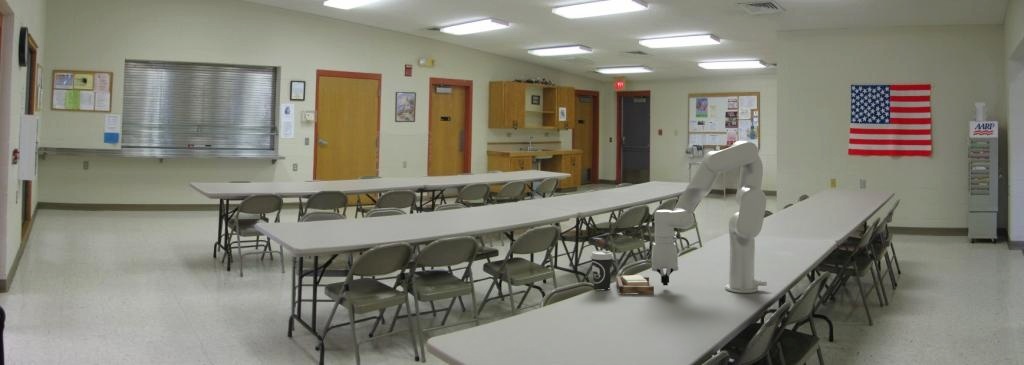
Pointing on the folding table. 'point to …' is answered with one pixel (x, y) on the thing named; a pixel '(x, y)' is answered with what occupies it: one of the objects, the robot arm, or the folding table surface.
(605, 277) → the coffee cup
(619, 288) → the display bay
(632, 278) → the carton
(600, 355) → the folding table surface
